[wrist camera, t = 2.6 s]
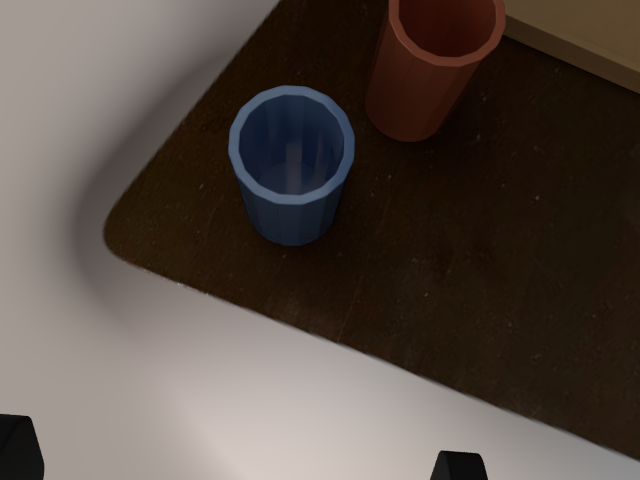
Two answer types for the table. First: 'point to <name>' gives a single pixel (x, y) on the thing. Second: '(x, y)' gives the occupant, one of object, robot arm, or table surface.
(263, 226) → the blue cup
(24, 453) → the robot arm
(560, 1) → the tray
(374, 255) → the table surface
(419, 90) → the red cup
